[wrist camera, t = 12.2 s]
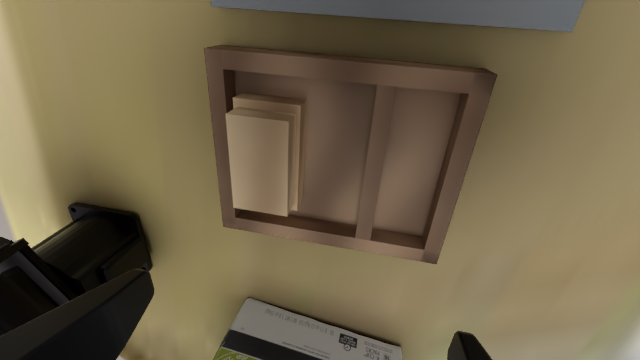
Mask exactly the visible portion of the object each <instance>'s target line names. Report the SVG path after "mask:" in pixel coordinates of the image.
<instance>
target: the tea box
mask: <svg viewBox="0 0 640 360" xmlns="http://www.w3.org/2000/svg"><path fill="white" fill-rule="evenodd" d="M213 360H403V359H402V350H401V347H399V346H395V345H390V344H386V343H383V342H381V341H377V340H374V339H371V338H368V337H364V336H361V335H358V334H355V333H352V332H350V331H347V330H344V329H341V328H338V327H335V326H331V325H327V324H324V323H321V322H318V321H316V320H314V319H311V318H308V317H305V316H302V315H298V314H295V313H292V312H289V311H286V310H284V309H280V308H278V307H275V306H272V305H269V304H266V303H264V302H261V301H258V300H255V299H252V298H248V299H246V301H245V302H244V304H243V305H242V307H241V309H240V310H239V312H238V314H237V316H236V317H235V319H234V321H233V323H232V325H231V327H230V328H229V330H228V332H227V334H226V336H225V337H224V340H223V341H222V343H221V345H220V347H219V349H218V351H217V353H216V355H215V357H214V359H213Z"/></svg>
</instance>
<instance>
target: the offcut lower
mask: <svg viewBox="0 0 640 360" xmlns="http://www.w3.org/2000/svg"><path fill="white" fill-rule="evenodd" d="M236 107H242V108H251V109H259V110H268V111H276V112H285V113H293V114H296V135H295V175H294V204H293V206H292V208H291V210H296V211H297V210H298V208H299V206H300V204H301V202H302V200H303V180H304V156H305V131H306V107H307V99H300V98H291V97H282V96H273V95H264V94H254V93H245V92H243V93H241V94H239V95H237V96H235V97H233V109H235V108H236Z"/></svg>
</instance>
